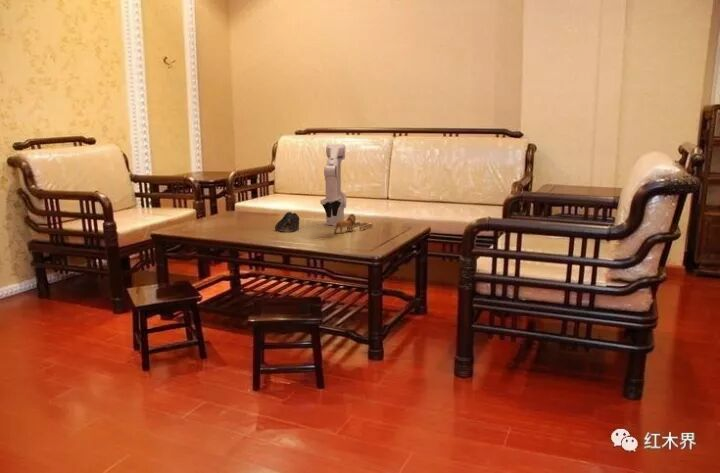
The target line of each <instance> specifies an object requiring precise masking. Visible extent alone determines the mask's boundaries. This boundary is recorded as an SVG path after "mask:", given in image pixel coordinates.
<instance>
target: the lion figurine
mask: <svg viewBox="0 0 720 473" xmlns="http://www.w3.org/2000/svg"><path fill="white" fill-rule="evenodd" d="M356 221H357V220H356V215H355V214H354V213H350V214H348V217H347V219H344V221H342V220H340V221H338V222H337V223H336V226H334V227H335V228H334V231H333V233H334V234H335V235H336V234H337V230H338V229H340V230H339V231H340V233H341V234H343V235H344V234H345V232H344V231H343V228H346V232H351V233H353V232H354V231H353V228H354V227H353V225H354V224H355V223H356ZM349 226H350V229H349Z"/></svg>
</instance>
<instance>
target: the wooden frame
mask: <svg viewBox="0 0 720 473" xmlns="http://www.w3.org/2000/svg"><path fill="white" fill-rule="evenodd" d="M356 226H357V227H359V231H360V232H361V231H364V229H365V230H368V229H371V227H372V228H373V223H370V222H364V221H357V222H356V221H355V224H354V225H353V228H356ZM349 228H350V226H349Z"/></svg>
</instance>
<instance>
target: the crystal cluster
mask: <svg viewBox="0 0 720 473" xmlns="http://www.w3.org/2000/svg"><path fill="white" fill-rule="evenodd" d="M274 229H275V231H279V232H284V233H292V232H293V233H294V232H297V231H299V230H300V217H299V215H298V214H297V213H296V212H291V211H288V212H286V213H285V214H284V215H283V217H282V218H281V219H280V220H279V221H277V223H276V224H275V226H274Z"/></svg>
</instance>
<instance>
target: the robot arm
mask: <svg viewBox="0 0 720 473" xmlns="http://www.w3.org/2000/svg"><path fill="white" fill-rule="evenodd" d="M325 155H326V157H327V160H326V165H325V166H324V167H323V175H324V181H325V183H324V184H325V197H324V199H320V201H319V202H320V205H322V208H323V210H324V211H325V215H326V216H325V217H326V218H325V219H326V222H325V225H327V226H333V227H336V223H337V222H338V221H340V220H342V221H345V209H346V208H347V195H346V192H344V191H342V177H341V176H342V172H341V171H342V167H341V166H342V161H343V160H345V159H346V144H328V143H327V144H326V146H325Z"/></svg>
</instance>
